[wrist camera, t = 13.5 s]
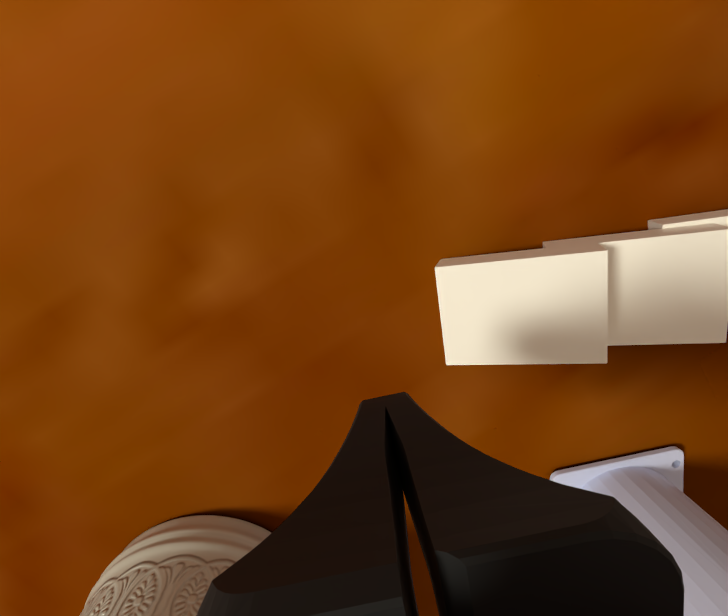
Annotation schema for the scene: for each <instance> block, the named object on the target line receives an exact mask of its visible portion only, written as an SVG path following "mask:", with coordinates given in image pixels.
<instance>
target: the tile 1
mask: <svg viewBox="0 0 728 616" xmlns="http://www.w3.org/2000/svg"><path fill="white" fill-rule="evenodd" d="M435 274H436V283H437V291H438V300H439V308H440V317H441V325H442V334H443V342H444V350H445V359H446V365H499V364H597V363H607V323H608V250H606V249H605V248H604V247H602V246H601V245H600V244H598V243H589V244H579V245H570V246H560V247H551V248H541V249H532V250H522V251H513V252H504V253H494V254H485V255H475V256H466V257H456V258H447V259H441V260H440V261H439V262H438V264H437V265H436V266H435Z"/></svg>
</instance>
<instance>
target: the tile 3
mask: <svg viewBox="0 0 728 616" xmlns="http://www.w3.org/2000/svg"><path fill="white" fill-rule="evenodd" d="M708 223H715V224H719V225H723V226H728V209H726V210H719V211H711V212H704V213H697V214H690V215H682V216H675V217H668V218H661V219H653V220H648V230H654V229H663V228H672V227H681V226H690V225H699V224H708Z"/></svg>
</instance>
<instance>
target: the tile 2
mask: <svg viewBox="0 0 728 616" xmlns="http://www.w3.org/2000/svg"><path fill="white" fill-rule="evenodd" d="M589 243H598V244H600V245H601V246H602V247H604V248H605V249H606V250H608V323H607V346H613V345H654V344H694V343H726V337H727V325H728V226H723V225H719V224H715V223H708V224H699V225H690V226H681V227H672V228H663V229H654V230H645V231H636V232H627V233H618V234H608V235H599V236H590V237H581V238H572V239H563V240H554V241H545V242H543V248H551V247H560V246H570V245H579V244H589Z"/></svg>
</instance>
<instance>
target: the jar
mask: <svg viewBox="0 0 728 616" xmlns="http://www.w3.org/2000/svg"><path fill="white" fill-rule="evenodd" d="M270 534H271V532H269V531H268V530H266V529H264V528H262V527H260V526H257V525H255V524H252V523H250V522H247V521H243V520H240V519H235V518H231V517H225V516H214V515H198V516H189V517H182V518H178V519H174V520H170V521H167V522H164V523H162V524H159V525H157V526H155V527H152V528H150V529H149V530H147V531H145V532H144V533H142V534H141V535H139V536H138V537H137V538H135V539H134V540H133V541H132V542H131V543H130V544H129V545H128V546H127V547H126V548H125V549H124V550H123V551H122V553H121V554H120V555H118V556H117V557H116V558H115V559H114V560H113V561H112V562H111V563H110V565H109V566H108V567H107V568H106V569H105V571H104V572H103V574H102V575H101V577H100V579H99V580H98V582H97V583H96V584H95V586H94V587H93V589H92V591H91V592H90V594H89V596H88V598H87V601H86V603H85V606H84V609H83V611H82V612H81V614H80V616H196V615H197V613H198V610H199V608H200V606H201V604H202V601H203V599H204V597H205V595H206V593H207V591H208V588H209V586H210V584H211V581H212V580H213V579H214V578H216V577H217V576H219V575H220V574H221V573H223V572H224V571H225V570H227V569H228V568H229V567H230V566H232V565H233V564H234V563H236V562H237V561H238V560H240V559H241V558H242V557H243V556H245V555H246V554H247V553H249V552H250V551H251V550H253V549H254V548H255V547H256V546H257V545H259V544H260V543H261V542H262V541H263V540H264V539H265V538H267V537H268V536H269V535H270Z"/></svg>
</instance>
